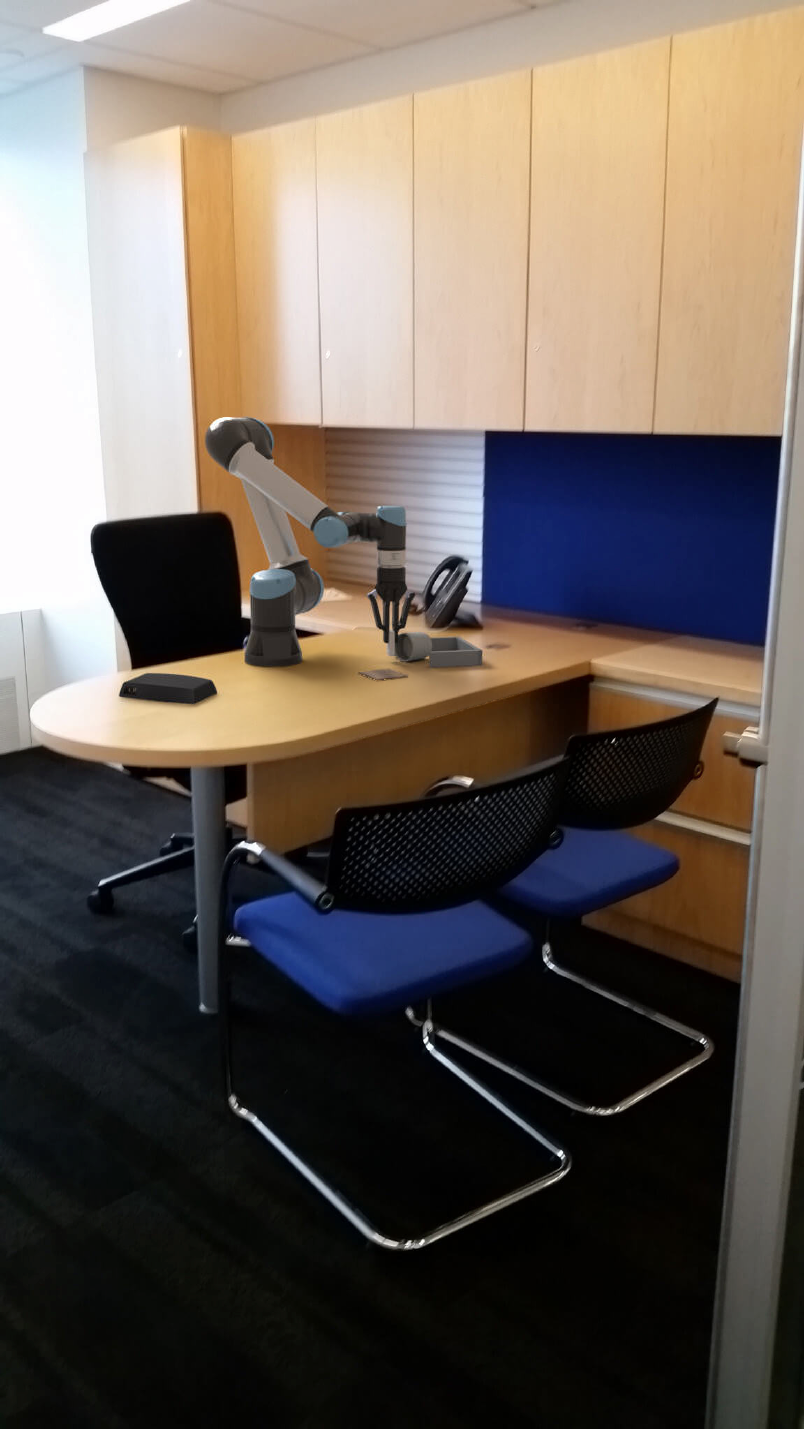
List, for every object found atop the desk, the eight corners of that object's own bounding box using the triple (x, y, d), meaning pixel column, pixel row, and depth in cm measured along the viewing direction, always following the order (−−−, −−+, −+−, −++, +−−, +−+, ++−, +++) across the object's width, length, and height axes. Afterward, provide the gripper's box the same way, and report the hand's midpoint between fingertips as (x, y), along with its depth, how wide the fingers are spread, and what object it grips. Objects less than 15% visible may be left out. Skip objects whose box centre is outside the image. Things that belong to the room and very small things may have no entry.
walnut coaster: (376, 683, 282) (376, 679, 282) (358, 676, 289) (358, 672, 289) (407, 679, 287) (407, 675, 286) (388, 672, 294) (388, 668, 294)
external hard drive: (146, 686, 274) (146, 669, 273) (219, 694, 268) (219, 677, 267) (116, 699, 262) (116, 681, 261) (192, 707, 256) (191, 689, 255)
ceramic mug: (434, 659, 307) (434, 631, 305) (412, 663, 301) (413, 635, 299) (406, 654, 314) (406, 626, 312) (385, 658, 308) (385, 629, 307)
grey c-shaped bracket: (430, 667, 298) (430, 652, 297) (409, 652, 316) (409, 638, 315) (481, 665, 301) (482, 650, 300) (458, 650, 319) (458, 636, 318)
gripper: (370, 568, 292) (370, 658, 298) (419, 567, 296) (417, 656, 302) (363, 564, 299) (363, 653, 305) (411, 563, 303) (410, 651, 309)
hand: (390, 655), depth 303 cm, fingers closed
